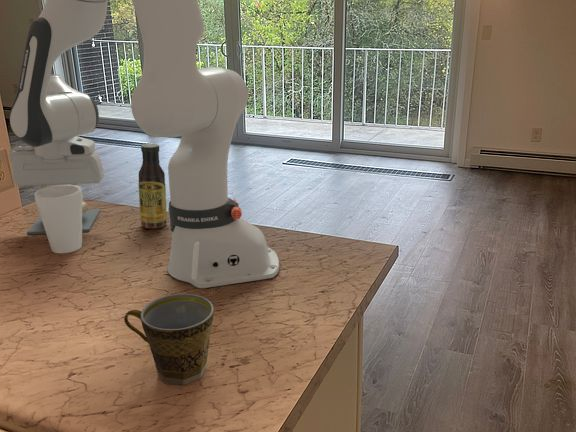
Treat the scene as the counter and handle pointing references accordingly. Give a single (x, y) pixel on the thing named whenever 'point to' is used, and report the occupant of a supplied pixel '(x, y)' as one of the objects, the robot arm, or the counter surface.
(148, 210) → the sauce bottle
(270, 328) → the counter surface
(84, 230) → the mat
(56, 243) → the foam cup
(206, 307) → the ceramic cup
